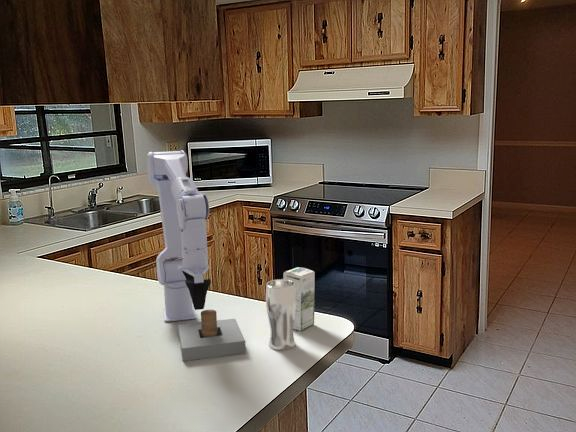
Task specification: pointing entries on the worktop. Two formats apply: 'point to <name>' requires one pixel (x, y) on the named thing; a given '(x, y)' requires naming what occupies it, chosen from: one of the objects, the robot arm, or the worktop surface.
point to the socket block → (211, 340)
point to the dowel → (209, 323)
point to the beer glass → (281, 313)
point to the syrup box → (303, 296)
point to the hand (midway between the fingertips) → (197, 303)
